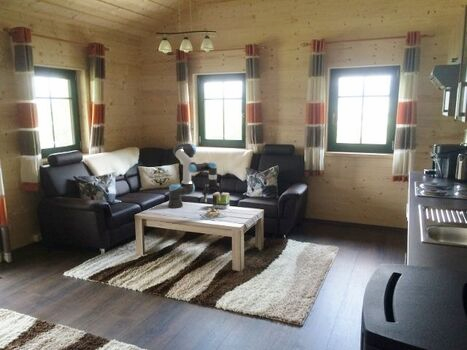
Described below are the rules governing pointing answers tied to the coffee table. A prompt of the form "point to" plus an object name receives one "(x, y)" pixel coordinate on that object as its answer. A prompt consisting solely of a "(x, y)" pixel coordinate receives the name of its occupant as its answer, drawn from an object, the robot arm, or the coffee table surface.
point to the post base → (213, 217)
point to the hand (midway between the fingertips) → (212, 201)
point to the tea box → (221, 200)
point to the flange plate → (212, 213)
